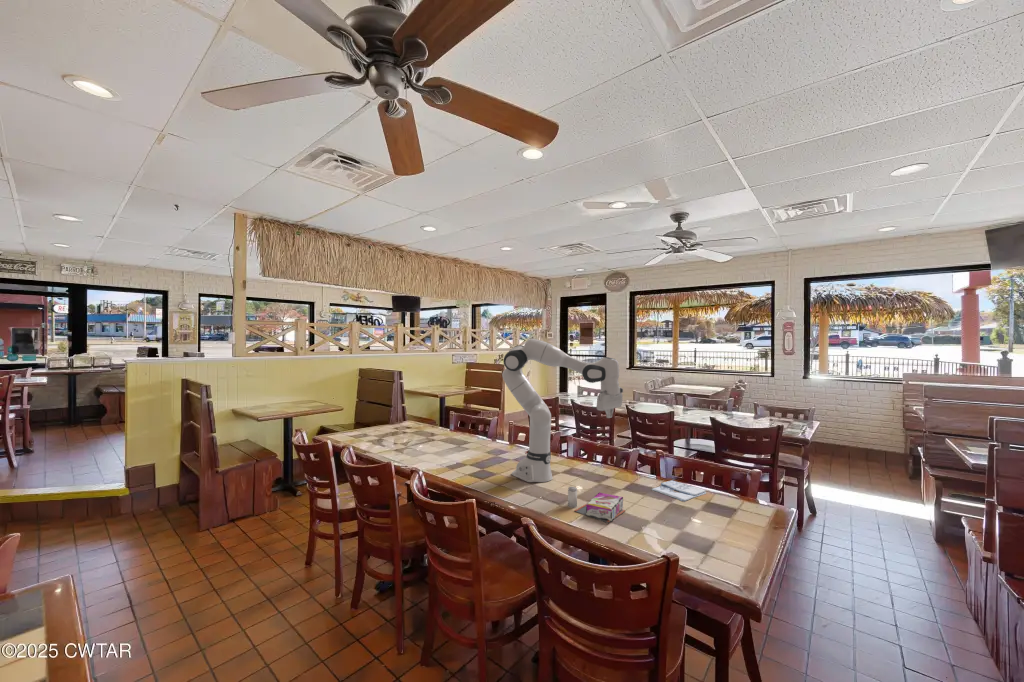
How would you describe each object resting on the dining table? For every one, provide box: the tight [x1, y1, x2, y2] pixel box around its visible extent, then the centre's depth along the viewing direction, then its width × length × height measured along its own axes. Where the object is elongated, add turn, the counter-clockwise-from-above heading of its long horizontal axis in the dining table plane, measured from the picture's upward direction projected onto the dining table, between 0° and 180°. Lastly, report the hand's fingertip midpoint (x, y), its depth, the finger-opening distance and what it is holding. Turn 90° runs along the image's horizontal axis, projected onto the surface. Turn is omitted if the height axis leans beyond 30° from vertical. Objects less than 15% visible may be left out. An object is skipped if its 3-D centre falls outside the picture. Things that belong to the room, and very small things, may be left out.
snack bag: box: [650, 480, 707, 502], centre depth 198 cm, size 19×20×2 cm
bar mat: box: [574, 503, 626, 524], centre depth 173 cm, size 16×15×1 cm
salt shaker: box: [567, 486, 578, 509], centre depth 179 cm, size 4×4×8 cm
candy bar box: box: [585, 492, 624, 522], centre depth 172 cm, size 11×5×16 cm
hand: (609, 417), depth 201 cm, fingers closed
